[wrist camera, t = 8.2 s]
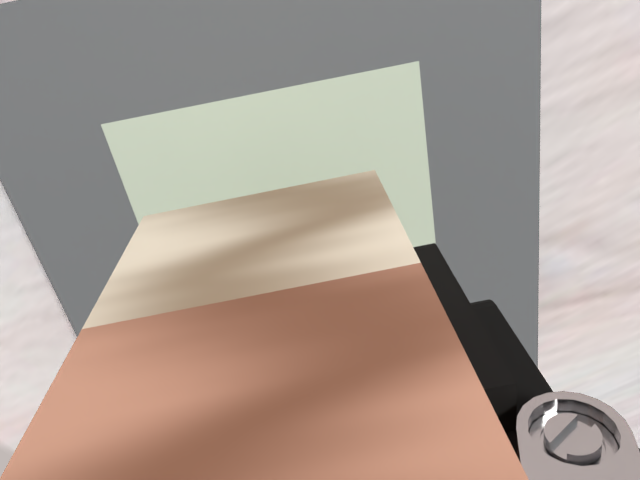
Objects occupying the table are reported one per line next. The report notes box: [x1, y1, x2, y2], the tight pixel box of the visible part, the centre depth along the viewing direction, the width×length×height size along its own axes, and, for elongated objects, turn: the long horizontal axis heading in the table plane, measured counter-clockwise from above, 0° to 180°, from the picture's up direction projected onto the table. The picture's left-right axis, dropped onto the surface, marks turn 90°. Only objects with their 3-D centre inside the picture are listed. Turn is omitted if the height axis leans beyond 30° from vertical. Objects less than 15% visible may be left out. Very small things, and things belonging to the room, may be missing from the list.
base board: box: [0, 0, 541, 368], centre depth 15 cm, size 14×14×1 cm
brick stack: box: [0, 170, 529, 480], centre depth 9 cm, size 5×5×8 cm
